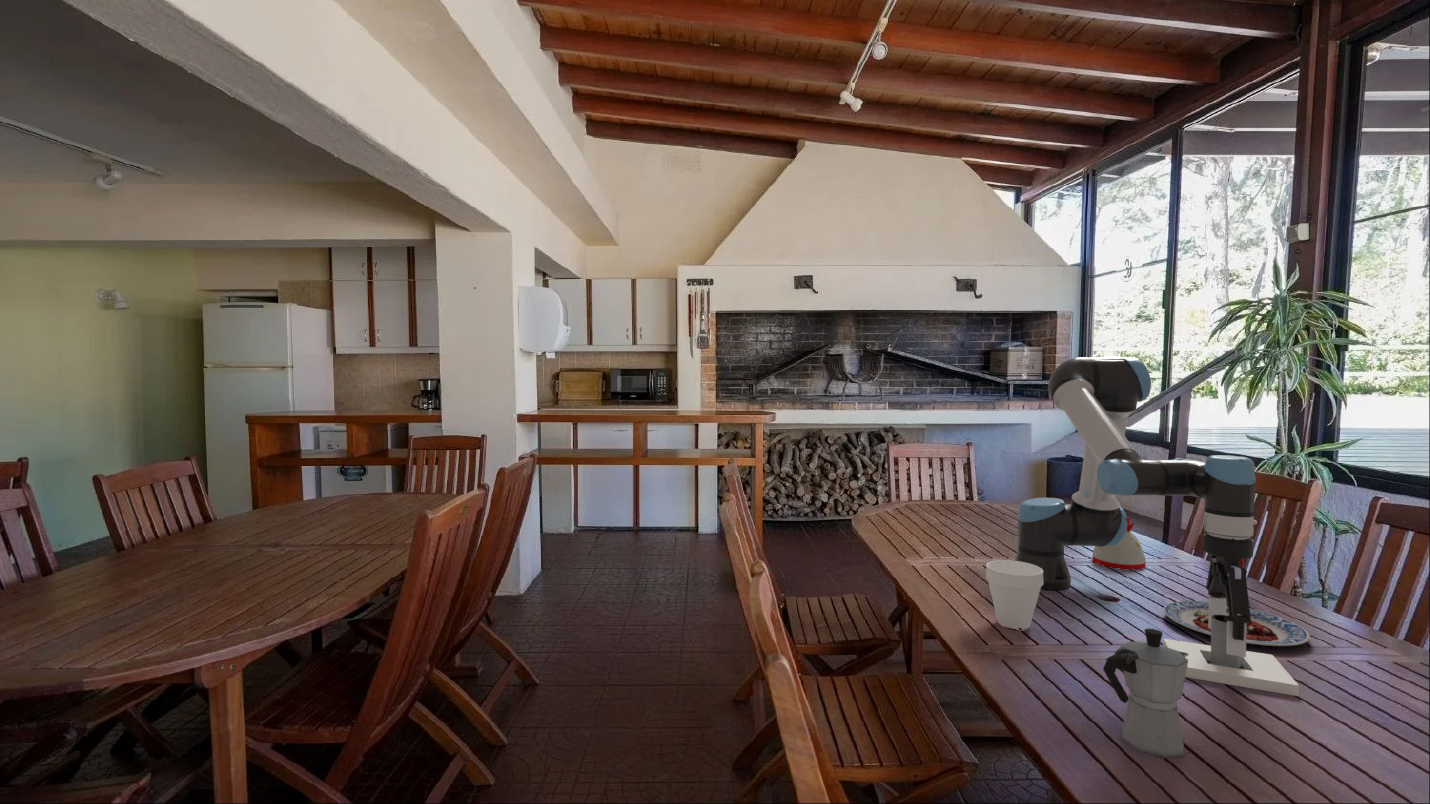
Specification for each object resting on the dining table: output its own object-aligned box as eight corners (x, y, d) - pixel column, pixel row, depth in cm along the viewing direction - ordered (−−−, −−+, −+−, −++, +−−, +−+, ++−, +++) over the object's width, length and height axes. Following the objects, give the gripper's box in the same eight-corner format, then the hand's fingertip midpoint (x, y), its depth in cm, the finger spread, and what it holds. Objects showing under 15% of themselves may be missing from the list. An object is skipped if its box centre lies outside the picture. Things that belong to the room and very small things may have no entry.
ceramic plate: (1342, 659, 128) (1343, 645, 128) (1200, 649, 133) (1200, 636, 133) (1260, 613, 153) (1260, 601, 153) (1143, 606, 158) (1143, 595, 158)
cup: (983, 629, 144) (983, 571, 144) (987, 611, 155) (987, 557, 155) (1043, 639, 138) (1043, 578, 138) (1043, 620, 149) (1043, 563, 149)
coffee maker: (1163, 723, 105) (1164, 617, 104) (1212, 754, 96) (1214, 639, 95) (1083, 731, 102) (1084, 623, 102) (1126, 764, 94) (1128, 646, 93)
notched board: (1176, 675, 121) (1177, 665, 121) (1163, 647, 134) (1163, 638, 134) (1298, 696, 113) (1298, 685, 113) (1272, 664, 125) (1272, 654, 125)
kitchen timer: (1129, 572, 185) (1130, 522, 185) (1083, 561, 197) (1083, 514, 197) (1154, 565, 192) (1155, 517, 191) (1108, 555, 204) (1109, 509, 203)
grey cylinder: (1204, 665, 125) (1205, 614, 125) (1225, 664, 126) (1226, 613, 125) (1224, 675, 121) (1225, 623, 121) (1246, 674, 121) (1247, 622, 121)
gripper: (1275, 553, 109) (1272, 671, 110) (1234, 523, 132) (1231, 622, 132) (1221, 548, 113) (1219, 663, 114) (1190, 520, 135) (1188, 616, 136)
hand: (1225, 641), depth 123 cm, fingers open, 13 cm apart
